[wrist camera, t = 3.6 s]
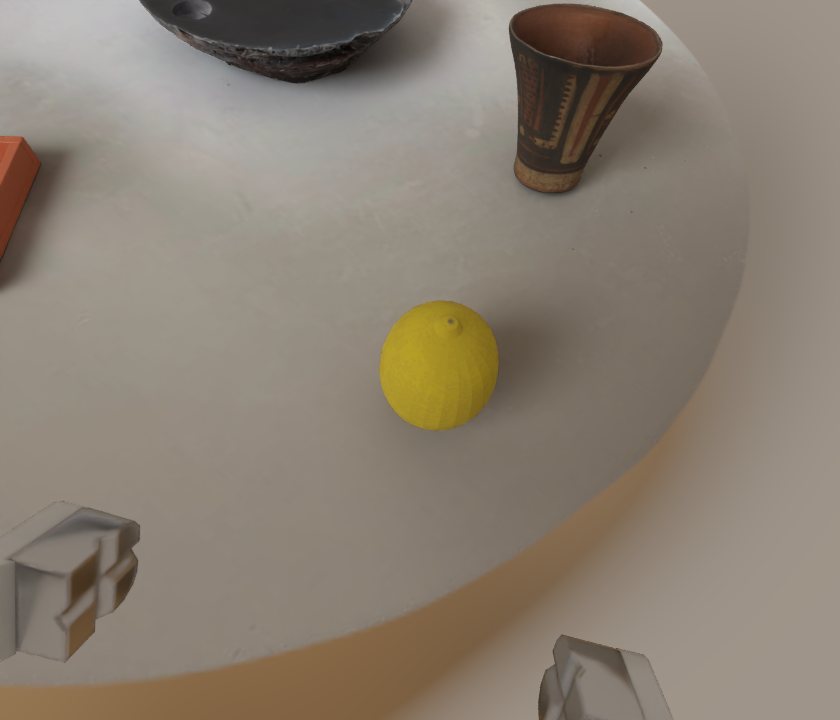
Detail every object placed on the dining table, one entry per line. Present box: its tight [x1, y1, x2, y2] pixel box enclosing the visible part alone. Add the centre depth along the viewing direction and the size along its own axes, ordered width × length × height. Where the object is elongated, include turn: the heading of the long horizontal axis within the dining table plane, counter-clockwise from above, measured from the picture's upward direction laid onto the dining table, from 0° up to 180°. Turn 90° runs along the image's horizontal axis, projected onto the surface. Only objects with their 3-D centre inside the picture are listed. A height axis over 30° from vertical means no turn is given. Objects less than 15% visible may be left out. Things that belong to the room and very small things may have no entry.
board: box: [140, 0, 412, 83], centre depth 40 cm, size 22×22×5 cm
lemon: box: [379, 301, 499, 431], centre depth 23 cm, size 6×6×8 cm
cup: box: [509, 4, 662, 192], centre depth 33 cm, size 9×9×10 cm
